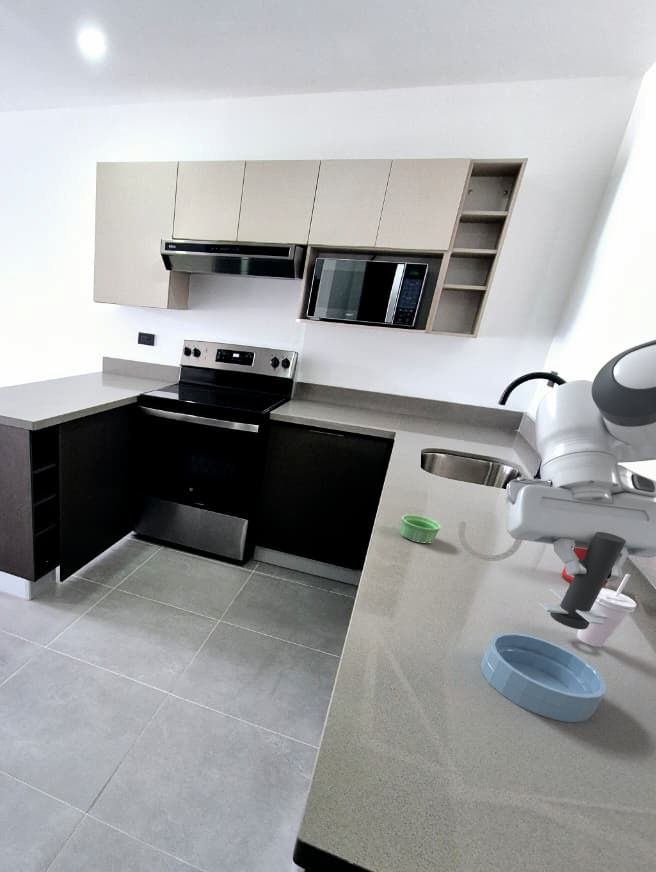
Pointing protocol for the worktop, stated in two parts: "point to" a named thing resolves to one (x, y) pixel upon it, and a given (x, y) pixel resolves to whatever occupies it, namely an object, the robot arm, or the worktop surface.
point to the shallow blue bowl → (542, 677)
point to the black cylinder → (587, 584)
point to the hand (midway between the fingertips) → (594, 577)
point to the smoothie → (612, 607)
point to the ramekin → (419, 528)
